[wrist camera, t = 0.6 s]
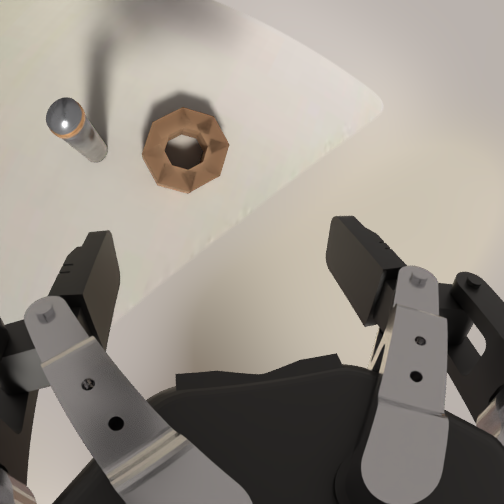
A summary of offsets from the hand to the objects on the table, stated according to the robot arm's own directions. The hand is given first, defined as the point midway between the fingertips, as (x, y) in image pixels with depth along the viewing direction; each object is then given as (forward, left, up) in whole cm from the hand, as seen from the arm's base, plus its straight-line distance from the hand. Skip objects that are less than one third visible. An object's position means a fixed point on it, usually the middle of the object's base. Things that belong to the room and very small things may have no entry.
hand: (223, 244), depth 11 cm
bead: (-6, +4, -23) cm, 24 cm away
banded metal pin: (-11, -4, -23) cm, 26 cm away
